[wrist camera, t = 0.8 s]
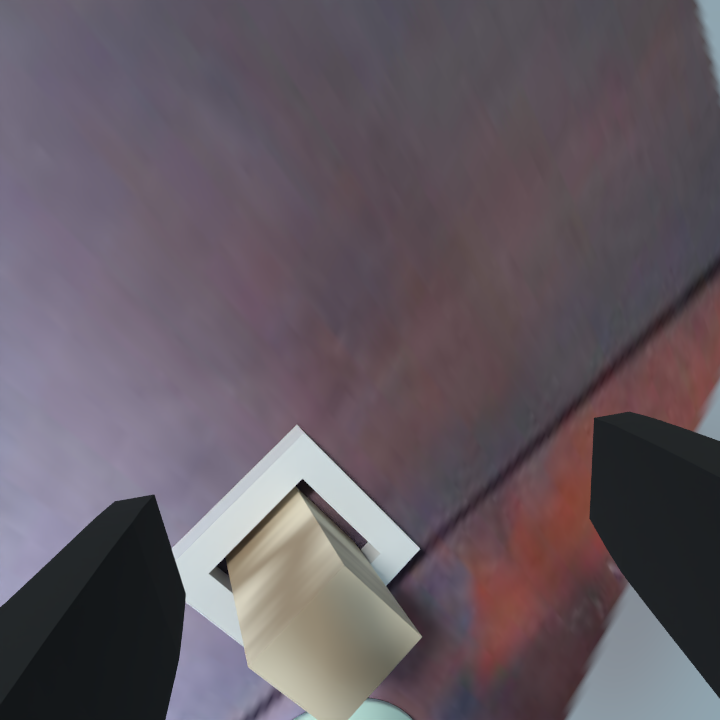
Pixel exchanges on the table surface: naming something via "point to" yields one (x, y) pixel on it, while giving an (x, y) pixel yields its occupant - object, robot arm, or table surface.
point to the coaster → (371, 712)
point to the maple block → (315, 611)
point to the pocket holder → (256, 500)
